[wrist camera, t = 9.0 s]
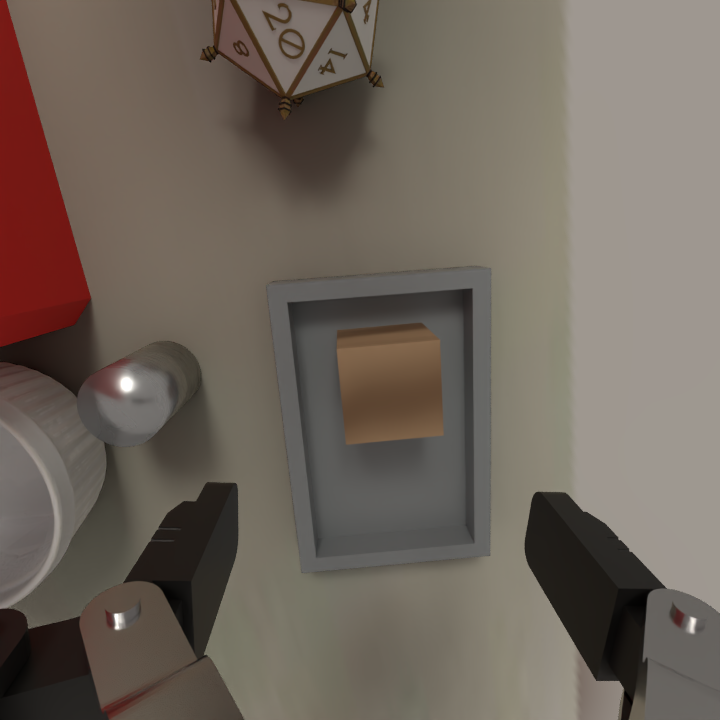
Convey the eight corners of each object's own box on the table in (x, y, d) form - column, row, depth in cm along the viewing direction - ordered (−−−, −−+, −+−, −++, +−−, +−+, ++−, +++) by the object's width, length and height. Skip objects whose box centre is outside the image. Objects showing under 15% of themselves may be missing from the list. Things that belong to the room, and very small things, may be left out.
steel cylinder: (127, 343, 26) (68, 371, 21) (195, 338, 27) (154, 364, 21) (140, 406, 27) (87, 450, 22) (205, 401, 28) (170, 443, 22)
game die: (340, 78, 27) (449, 107, 20) (207, 120, 24) (281, 169, 18) (308, -144, 20) (449, -208, 14) (124, -118, 18) (189, -180, 11)
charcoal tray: (273, 281, 26) (265, 285, 23) (477, 265, 26) (491, 268, 24) (304, 547, 30) (301, 573, 28) (478, 531, 31) (490, 555, 28)
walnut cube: (337, 330, 26) (336, 349, 21) (421, 322, 26) (439, 339, 21) (344, 409, 27) (346, 444, 23) (425, 402, 27) (443, 435, 23)
